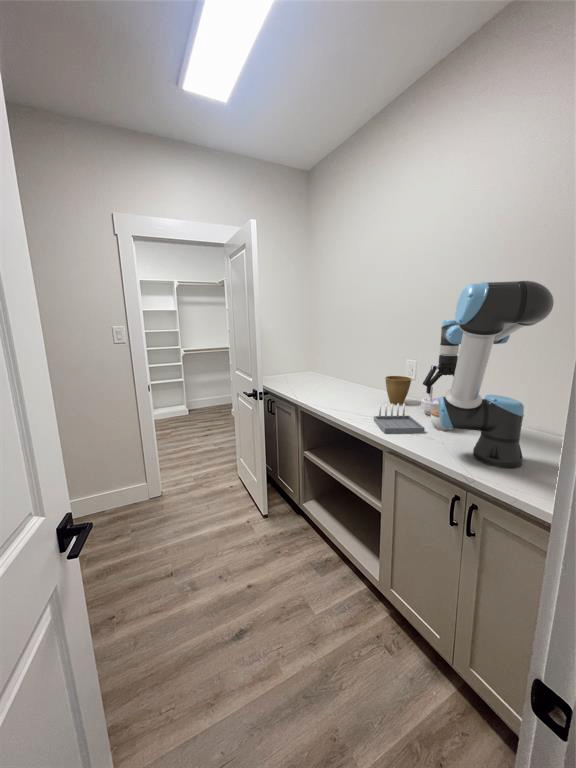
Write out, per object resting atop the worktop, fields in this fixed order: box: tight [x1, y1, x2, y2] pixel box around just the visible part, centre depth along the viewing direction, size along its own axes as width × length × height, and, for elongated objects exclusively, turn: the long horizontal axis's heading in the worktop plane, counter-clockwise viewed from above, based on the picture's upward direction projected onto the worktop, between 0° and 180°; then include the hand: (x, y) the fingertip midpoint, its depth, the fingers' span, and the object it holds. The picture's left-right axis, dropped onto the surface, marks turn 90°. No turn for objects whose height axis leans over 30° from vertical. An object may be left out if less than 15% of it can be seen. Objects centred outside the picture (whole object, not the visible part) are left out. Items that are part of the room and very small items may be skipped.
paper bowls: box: [420, 397, 440, 417], centre depth 166 cm, size 15×15×8 cm
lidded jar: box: [430, 409, 450, 431], centre depth 145 cm, size 11×11×9 cm
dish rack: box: [373, 402, 425, 435], centre depth 148 cm, size 18×18×9 cm
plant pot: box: [384, 375, 412, 406], centre depth 187 cm, size 15×15×16 cm
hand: (444, 400), depth 143 cm, fingers open, 13 cm apart
